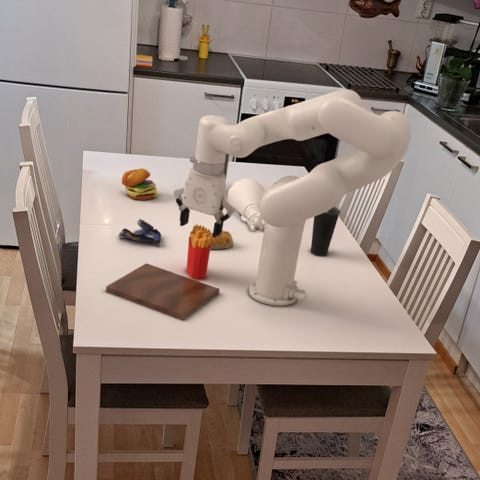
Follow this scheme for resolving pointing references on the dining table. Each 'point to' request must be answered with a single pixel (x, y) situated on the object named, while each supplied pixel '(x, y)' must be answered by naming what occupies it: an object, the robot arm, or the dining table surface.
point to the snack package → (142, 233)
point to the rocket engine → (247, 201)
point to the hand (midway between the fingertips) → (200, 230)
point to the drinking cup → (323, 231)
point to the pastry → (221, 241)
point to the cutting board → (163, 291)
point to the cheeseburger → (139, 184)
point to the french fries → (198, 252)
